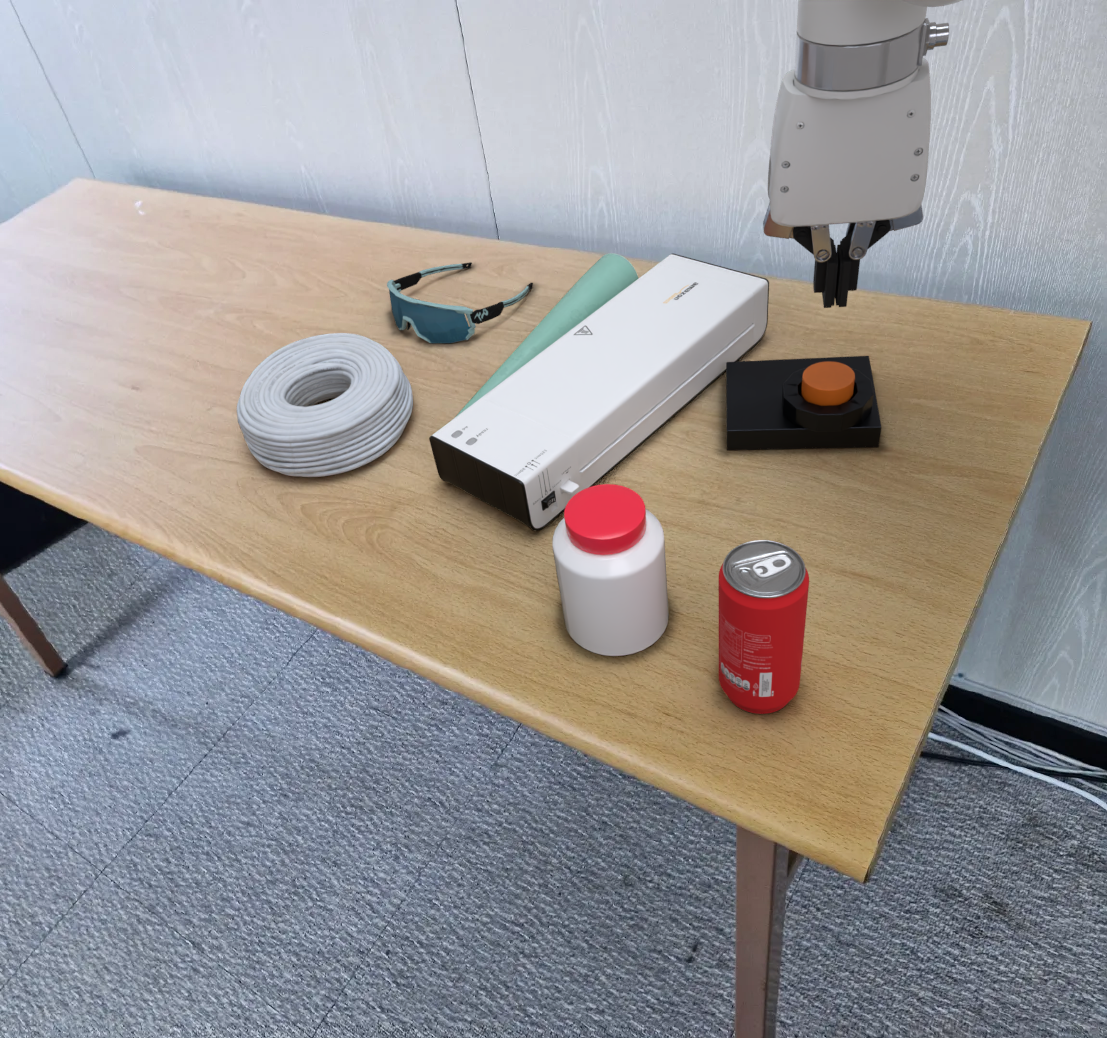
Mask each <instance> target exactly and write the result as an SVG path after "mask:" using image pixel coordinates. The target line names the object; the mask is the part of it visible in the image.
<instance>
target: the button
mask: <svg viewBox="0 0 1107 1038" xmlns="http://www.w3.org/2000/svg"><path fill="white" fill-rule="evenodd" d="M854 382H855V373H854V371H853V370H852V369H851V368H850V367H849V366H847V365H845V364H842V363H839V362H831V361H827V362H819V363H816V364H813V365H811V366H809V367H808V368H806V369H805V371H804V372H803V376H802V390H801V393H802V396H803V398H804V399H805V400H806V401H807V402H810V403H813V404H817V405H820V406H833V405H840V404H843V403H845V402H847V401H849V400H850V399H851V397H852V395H853V390H854Z"/></svg>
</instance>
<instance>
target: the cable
mask: <svg viewBox="0 0 1107 1038" xmlns="http://www.w3.org/2000/svg"><path fill="white" fill-rule="evenodd" d="M239 394H240V395H239V398H238V400H237V403H236V420H237V423H238V425H239V428H240V430H241V433H242V435H243V439H244V441H245V443H246V445H247V448H248V450H249V452H250V453H251V455H252V456H253V457H254V458H255V459H256V460H257V462H259V464H261V465H262V466H263V467H265V468H267V469H268V470H271V471H273V472H276V473H279V474H281V475H285V476H288V477H289V476H290V477H302V478H318V477H319V478H320V477H327V476H329V477H330V476H333V475H339V474H343V473H346V472H350V471H352V470H355V469H358V468H360V467H363V466H365V465H367V464H369V463H371V462H373V461H375V460H376V459H378V458H380V457H381V456H383V455H384V454H385V453H387V452H388V451H389V450H390V449H391V448H392V447H393V446H394V445H395V444H397V442H398V441H399V439H400V438H401V436H402V434H403V432H404V431H405V429H406V426H407V424H408V422H409V420H410V418H411V416H412V412H413V409H414V396H413V388H412V385H411V382H410V380H409V379H408V377H407V375H406V374H405V372H404V371H403V368H402V366H401V364H400V362H399V361H398V360H397V359H396V357H395V356H394V354H392V352H390V350H389V349H387V348H386V347H385V346H383V345H382V344H381V343H379V342H377V341H375V340H374V339H373V340H372V339H371V338H369V337H367V336H364V335H361V334H357V333H350V332H333V333H324V334H317V335H312V336H308V337H304V338H301V339H298V340H295V341H293V342H290V343H288V344H286V345H283V346H281V347H280V348H279V349H277V350H275V351H273V352H272V353H270V354H269V355H268V356H267V357H266V358H264V359H263V360H262V361H261V362H260V363H259V364H258V365H257V366H256V367H255V368H254V369H253V371H252V372H251V373H250V374H249V376H248V378H247V379H246V380H245V383H244V384H243V386H242V389H241V391H240V393H239ZM329 399H331V400H329ZM326 400H328V401H326ZM323 401H326V402H323ZM320 402H323V403H320ZM318 403H319V404H318Z"/></svg>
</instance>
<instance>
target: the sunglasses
mask: <svg viewBox="0 0 1107 1038" xmlns="http://www.w3.org/2000/svg"><path fill="white" fill-rule="evenodd" d="M472 265H473V262H471V261H470V262H464V263H463V262H462V263H452V264H446V265H440V266H434V267H430V268H425V269H422V270H420V271H417V272H414V273H411V274H407V275H405V276H402V277H399V278H396V279H389V280H388V281H387V282H386V287H387V289H388V293H389V301H390V307H391V312H392V316H393V319H394V322H395V325H396V327H397V329H398V330H399V331H404V330H405V329H406V330H407V331H409V330H410V329H411V327H412V329H413V330H414V332H415V334H416V336H417V337H418V338H421V339H422V340H424V341H425V342H427V343H429V344H452V343H458V342H462V341H468V340H469V339H470V338H472V336H474V335H475V333H476V332H475V331H476V330H475V329H476V328H477V326H476V324H477V325H480V324H482V323H483V324H484V323H485V322H488V321H491V320H493V319H495V318H497V317H499V316H501V315H502V313H503V311H504V309H505V308H508V307H511V306H514V305H515V304H517V303H518V302H521V300H523V299H524V298H525V297H526V296H527V294H528V293H529V292H530V291H531V290H532V289H533V286H534V282H530V283H529V284H527V285H526V286H525V288H524V289H522V291H520V292H519V293H518V294H516V295H515V296H513V297H511V298H508V299H505V300H501V301H499V302H497V303H494V304H491V305H489V306H486V307H483V308H478V309H475V310H474V309H473V308H469V307H467V306H464V305H452V304H443V303H437V302H431V301H425V300H420V299H417V298H413V297H410V296H408V295H405V294H403V293H402V291H404V290H406V289H409V288H411V287H413V286H415V285H416V286H417V284H418V283H419V282H420V280H421V279H422V278H425V277H428V276H431V275H435V274H439V273H443V272H451V271H459V270H464V269H471V266H472Z"/></svg>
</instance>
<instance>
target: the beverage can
mask: <svg viewBox="0 0 1107 1038" xmlns="http://www.w3.org/2000/svg"><path fill="white" fill-rule="evenodd" d="M809 587H810V576H809V572H808V570H807V567H806V564H805V561H804V559H803V558H802V556H801V555H800V554H799V553H798V552H797V550H795V549H794V548H792V547H791V546H789V545H787V544H784V543H782V542H779V541H775V540H770V539H756V540H755V539H754V540H750V541H746V542H743V543H740V544H738V545H737V546H735V547H734V548H732V549H731V550H730V551H729V552H728V553H727V554H726V556H725V557H724V560H723V562H722V564H721V566H720V568H719V571H718V682H719V685H720V688H721V689H722V691H723V692H724V694H725V695H726V696H727V699H728V700H729V701H730V702H731V703H732V705H734V706H735V707H736V708H738V709H740V710H741V711H743V712H745V713H749V714H753V715H770V714H774V713H777V712H779V711H781V710H783V709H784V708H786V706H788V704H789V703H790V701H791V700H793V699H794V698H795V697H796V695H797V693H798V691H799V689H800V684H801V677H802V675H801V674H802V664H803V655H804V653H803V652H804V645H805V644H804V642H805V633H806V620H807V612H808V611H807V609H808V601H809V600H808V599H809Z"/></svg>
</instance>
